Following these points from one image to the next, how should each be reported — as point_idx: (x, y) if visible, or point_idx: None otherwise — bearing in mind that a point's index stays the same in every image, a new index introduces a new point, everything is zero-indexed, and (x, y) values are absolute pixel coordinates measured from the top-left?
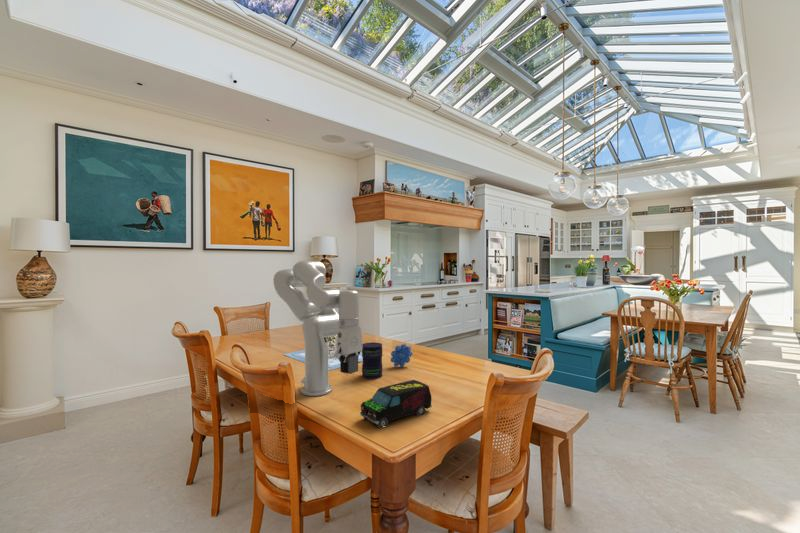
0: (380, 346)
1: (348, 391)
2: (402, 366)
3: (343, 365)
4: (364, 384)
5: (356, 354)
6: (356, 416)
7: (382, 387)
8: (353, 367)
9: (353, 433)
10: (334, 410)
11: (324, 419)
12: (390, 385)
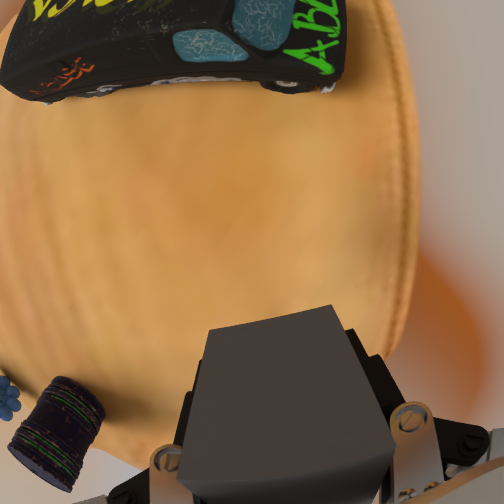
0: (11, 445)
1: (194, 369)
2: (5, 376)
3: (396, 392)
4: (117, 376)
5: (181, 497)
6: (320, 129)
7: (186, 21)
8: (285, 351)
9: (396, 42)
10: (352, 248)
11: (419, 202)
12: (123, 27)
